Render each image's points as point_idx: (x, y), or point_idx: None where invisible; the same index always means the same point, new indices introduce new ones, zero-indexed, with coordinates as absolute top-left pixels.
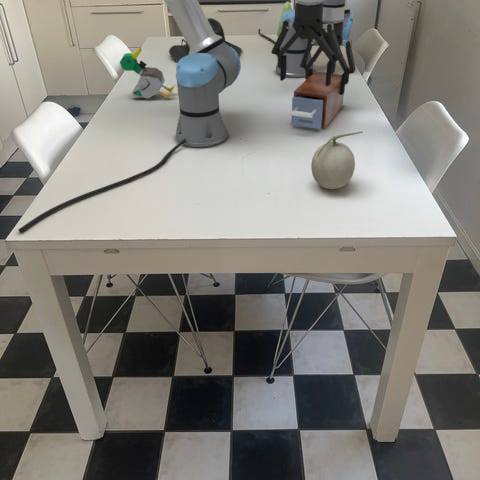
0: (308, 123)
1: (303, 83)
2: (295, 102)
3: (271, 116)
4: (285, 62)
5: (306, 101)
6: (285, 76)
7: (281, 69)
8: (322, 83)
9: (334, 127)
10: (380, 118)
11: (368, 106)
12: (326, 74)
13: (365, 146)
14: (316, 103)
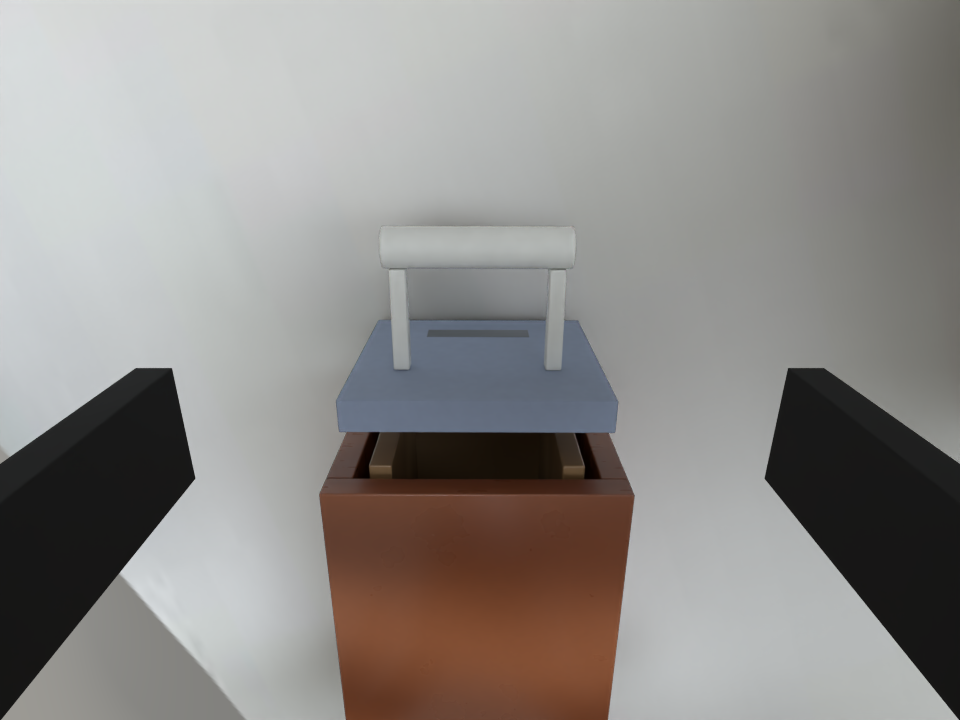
0: (458, 329)
1: (603, 667)
2: (579, 384)
3: (742, 433)
4: (919, 616)
5: (481, 394)
6: (779, 476)
7: (916, 448)
8: (458, 706)
9: (328, 412)
10: (153, 599)
11: (273, 706)
12: (67, 449)
13: (39, 212)
14: (389, 391)
